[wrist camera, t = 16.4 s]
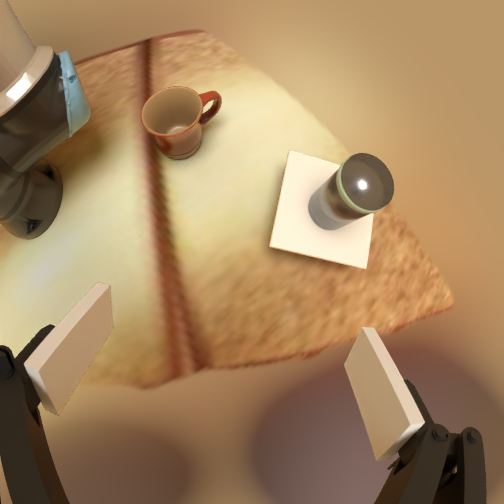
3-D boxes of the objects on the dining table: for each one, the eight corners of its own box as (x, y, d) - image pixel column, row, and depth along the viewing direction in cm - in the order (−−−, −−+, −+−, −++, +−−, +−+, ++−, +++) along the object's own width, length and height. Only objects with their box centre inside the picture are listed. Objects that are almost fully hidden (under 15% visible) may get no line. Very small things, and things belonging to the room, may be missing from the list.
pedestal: (262, 251, 43) (270, 246, 36) (280, 168, 45) (289, 150, 38) (346, 270, 44) (366, 268, 37) (357, 191, 46) (376, 178, 39)
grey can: (303, 224, 37) (338, 200, 25) (311, 182, 38) (344, 144, 26) (345, 236, 37) (392, 217, 25) (351, 194, 38) (395, 163, 26)
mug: (168, 175, 43) (154, 147, 33) (148, 136, 43) (132, 104, 33) (233, 141, 45) (235, 107, 34) (209, 106, 45) (207, 69, 35)
